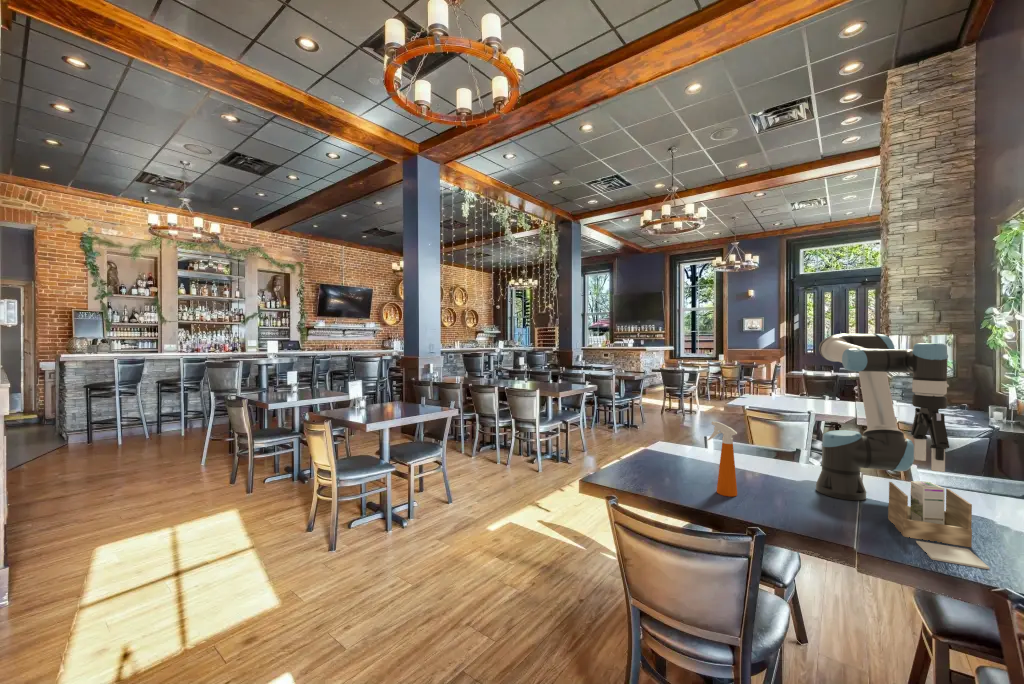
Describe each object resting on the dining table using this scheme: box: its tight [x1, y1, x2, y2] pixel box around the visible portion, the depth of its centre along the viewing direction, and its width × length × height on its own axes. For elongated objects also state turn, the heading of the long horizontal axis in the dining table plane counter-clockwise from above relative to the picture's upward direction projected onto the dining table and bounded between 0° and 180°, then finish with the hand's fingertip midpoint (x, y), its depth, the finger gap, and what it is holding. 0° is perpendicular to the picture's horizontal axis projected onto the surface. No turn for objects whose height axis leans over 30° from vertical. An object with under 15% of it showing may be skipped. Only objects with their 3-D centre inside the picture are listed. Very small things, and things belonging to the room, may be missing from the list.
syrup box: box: [910, 480, 946, 525], centre depth 133 cm, size 6×6×14 cm
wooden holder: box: [887, 481, 973, 548], centre depth 133 cm, size 15×15×12 cm
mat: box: [915, 540, 990, 570], centre depth 119 cm, size 11×11×1 cm
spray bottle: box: [706, 420, 738, 498], centre depth 166 cm, size 7×11×26 cm, turn 51°
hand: (928, 465), depth 133 cm, fingers open, 13 cm apart
